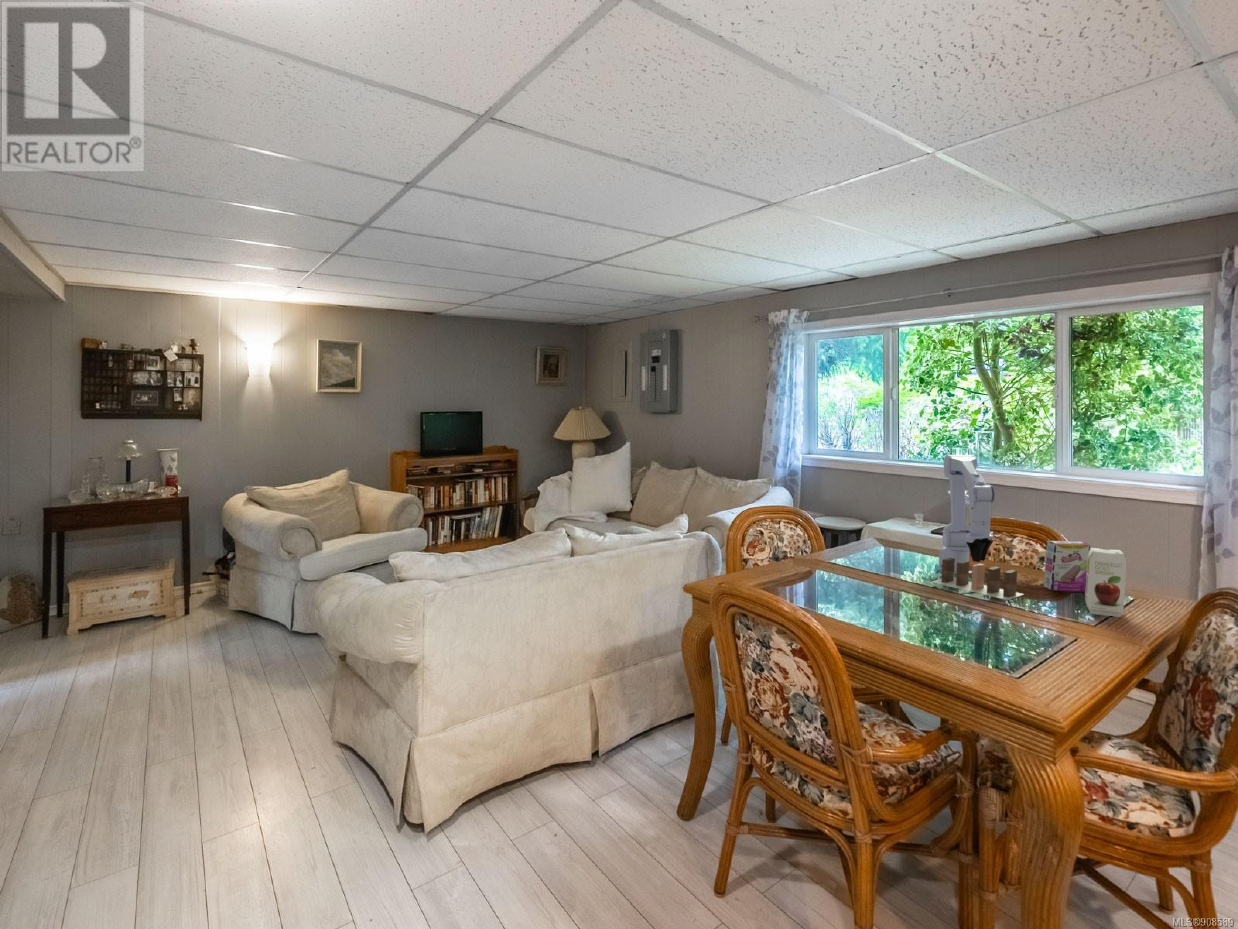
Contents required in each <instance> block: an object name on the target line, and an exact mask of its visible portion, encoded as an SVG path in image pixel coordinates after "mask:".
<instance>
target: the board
mask: <svg viewBox="0 0 1238 929" xmlns="http://www.w3.org/2000/svg"><path fill="white" fill-rule="evenodd" d="M931 583H934V584H937V585H938V584H939V585H942V586H946V587H951V588H955V589H959V590H962V591H963V590H964V591H967V592H972V593H975V594H979V595H983V596H988V597H992V598H997V599H1001V600H1005V601H1010V600H1012V599H1015V598H1018V597H1021V596H1024V595H1025V594H1024V593H1020V592H1018V591H1016V595H1014V596H1011V597H1009V598H1008V597H1004V596H1003V589H1004V588H1000V590H999V591H998V592H995V593H992V594H991V593H987V584H984V588H981V589H978V590H974V589H971V583H972V581H969V582H968V584H967V585H964V586H957V585H956V578H955V577H954V581H951V582H948V583H944V582H942V578H939V579H936V580H933V581H931Z"/></svg>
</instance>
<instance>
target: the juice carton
mask: <svg viewBox="0 0 1238 929" xmlns="http://www.w3.org/2000/svg"><path fill="white" fill-rule="evenodd" d="M1126 578H1127V559H1126V554H1125V553H1124V552H1123V551H1122V550H1120V549H1103V548H1097V547H1090V551H1089V554H1088V559H1087V574H1086V591H1085V592H1084V593H1085V594H1084V595H1085V597H1084V600H1085V604H1086V609H1088V612H1089V613H1090V614H1091V615H1097V616H1105V617H1110V616H1114V617H1113V618H1119V617H1120V618H1121V615H1122V613H1123V611H1124V606H1125V605H1124V604H1125V594H1126V593H1125V592H1126V580H1127V579H1126Z"/></svg>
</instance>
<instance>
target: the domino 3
mask: <svg viewBox="0 0 1238 929" xmlns="http://www.w3.org/2000/svg"><path fill="white" fill-rule="evenodd" d="M985 568H986V564H984V563H980V562H978V563H976V564H973V565H971V571H972V573H971V582H972V583H971V589H974V590H978V589H981V588H984V585H985V571H986V570H985Z"/></svg>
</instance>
